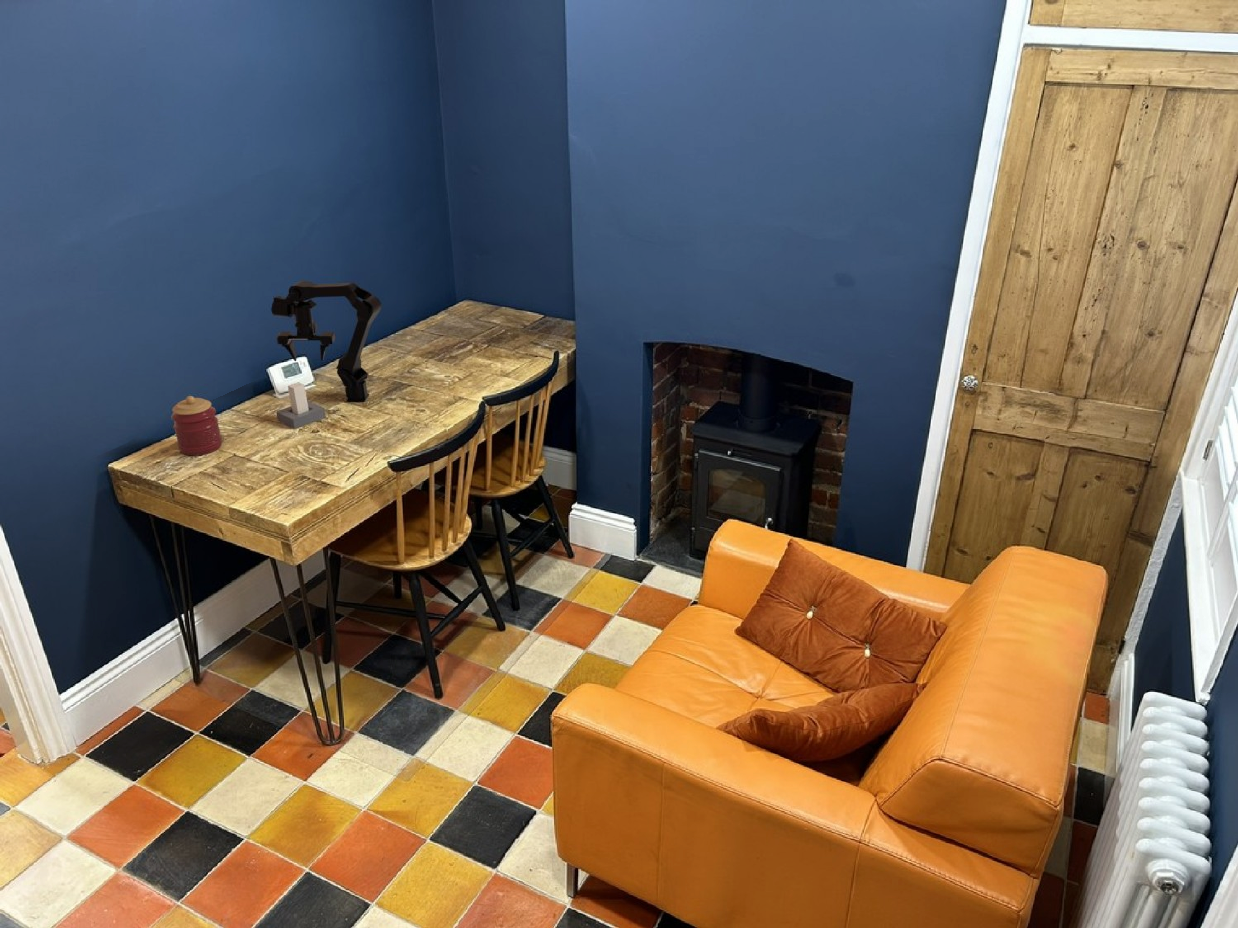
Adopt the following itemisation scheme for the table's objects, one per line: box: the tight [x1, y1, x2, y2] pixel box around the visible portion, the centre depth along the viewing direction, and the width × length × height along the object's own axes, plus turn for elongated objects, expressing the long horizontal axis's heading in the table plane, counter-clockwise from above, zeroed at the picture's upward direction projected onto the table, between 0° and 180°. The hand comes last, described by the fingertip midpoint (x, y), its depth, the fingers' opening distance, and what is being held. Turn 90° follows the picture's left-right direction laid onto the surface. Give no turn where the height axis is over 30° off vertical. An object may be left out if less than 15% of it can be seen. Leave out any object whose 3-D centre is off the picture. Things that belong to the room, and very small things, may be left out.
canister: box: [170, 395, 223, 456], centre depth 296 cm, size 13×13×18 cm
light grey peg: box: [287, 382, 309, 415], centre depth 315 cm, size 4×4×12 cm
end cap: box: [276, 400, 327, 430], centre depth 317 cm, size 12×10×4 cm
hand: (309, 360), depth 331 cm, fingers open, 9 cm apart
